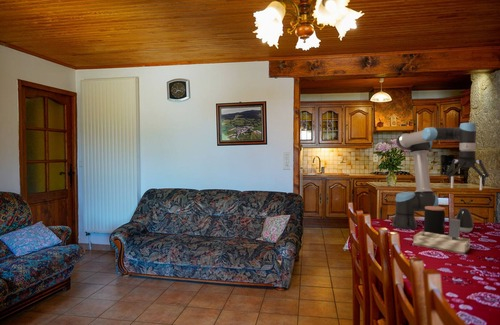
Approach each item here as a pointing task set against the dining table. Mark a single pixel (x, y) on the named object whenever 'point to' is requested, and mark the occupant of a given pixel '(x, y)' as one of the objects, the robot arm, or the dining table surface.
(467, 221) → the dark grey egg shape
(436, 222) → the coffee jar
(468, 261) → the dining table surface
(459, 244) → the keyhole plate
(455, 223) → the metal peg
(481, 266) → the dining table surface
